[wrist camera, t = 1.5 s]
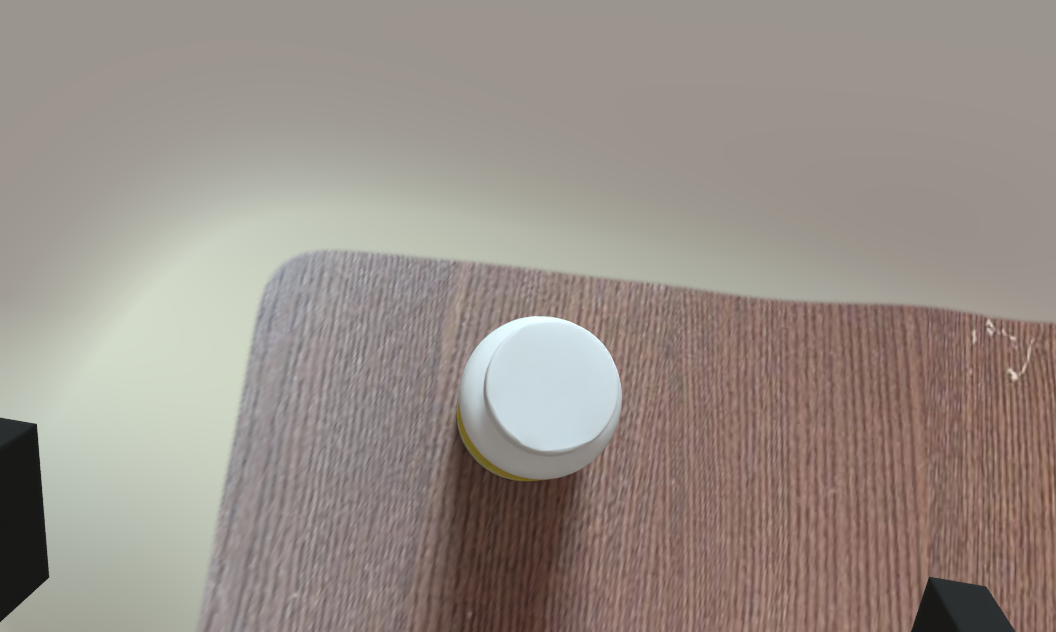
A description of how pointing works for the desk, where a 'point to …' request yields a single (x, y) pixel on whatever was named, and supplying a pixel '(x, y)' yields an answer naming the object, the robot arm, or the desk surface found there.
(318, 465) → the desk surface
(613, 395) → the supplement bottle
